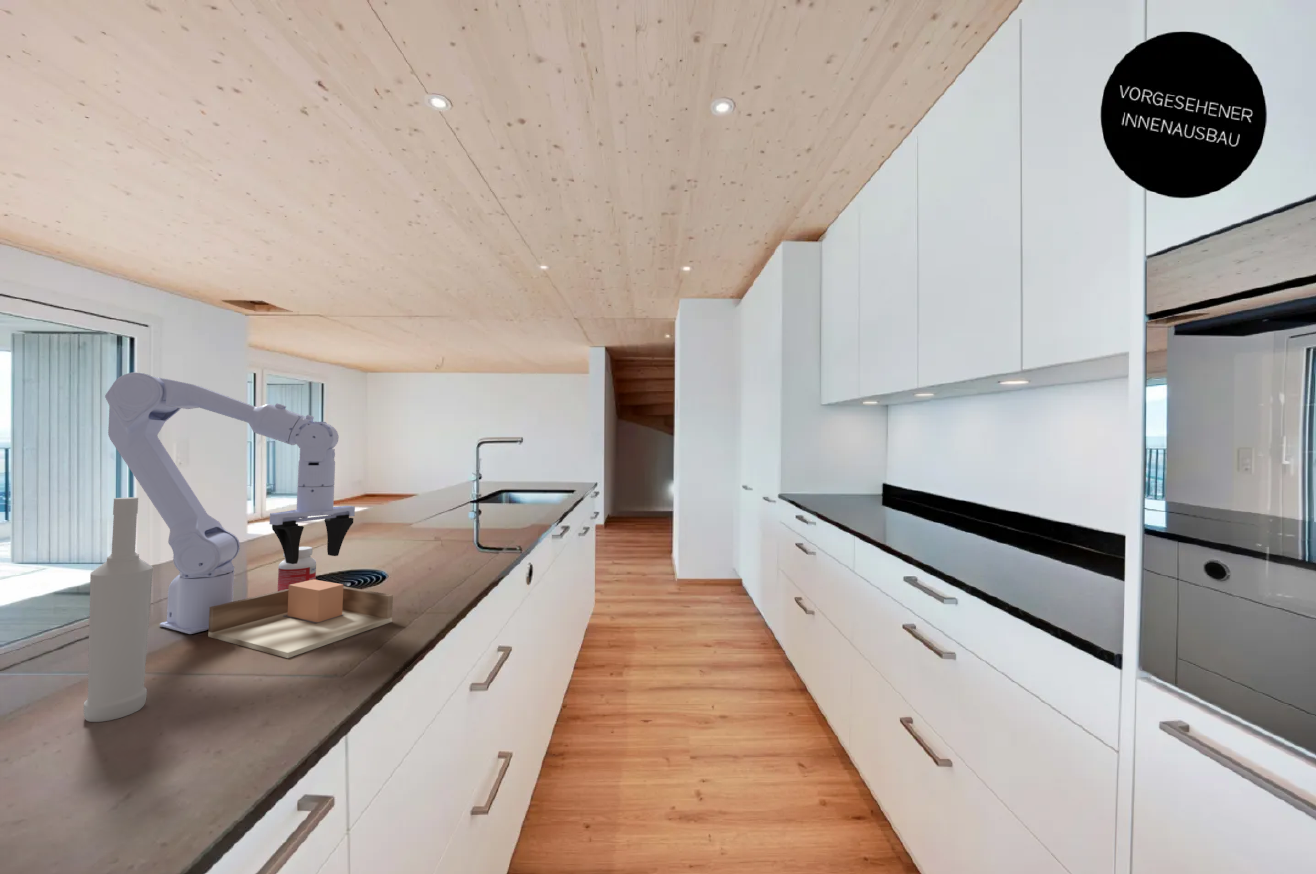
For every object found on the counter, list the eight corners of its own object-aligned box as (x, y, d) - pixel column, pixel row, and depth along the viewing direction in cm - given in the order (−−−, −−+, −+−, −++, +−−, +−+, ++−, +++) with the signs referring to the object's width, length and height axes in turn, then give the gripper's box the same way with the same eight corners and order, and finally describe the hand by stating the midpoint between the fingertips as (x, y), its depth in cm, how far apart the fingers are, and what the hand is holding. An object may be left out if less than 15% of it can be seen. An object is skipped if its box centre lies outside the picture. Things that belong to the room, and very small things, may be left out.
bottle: (88, 728, 57) (100, 501, 57) (77, 714, 59) (88, 498, 60) (152, 708, 61) (162, 498, 62) (139, 696, 64) (149, 495, 64)
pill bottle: (314, 606, 100) (316, 549, 101) (275, 611, 97) (278, 552, 97) (314, 598, 106) (316, 544, 106) (277, 602, 102) (280, 547, 102)
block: (342, 614, 93) (343, 584, 93) (317, 622, 89) (318, 590, 89) (312, 608, 96) (313, 579, 96) (287, 615, 92) (288, 585, 92)
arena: (208, 636, 84) (209, 607, 84) (317, 606, 100) (318, 581, 100) (287, 658, 76) (288, 625, 76) (391, 621, 93) (392, 595, 93)
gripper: (289, 489, 87) (285, 569, 87) (366, 484, 101) (363, 554, 100) (263, 487, 90) (260, 565, 90) (342, 483, 103) (339, 550, 103)
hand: (313, 559), depth 95 cm, fingers open, 7 cm apart
